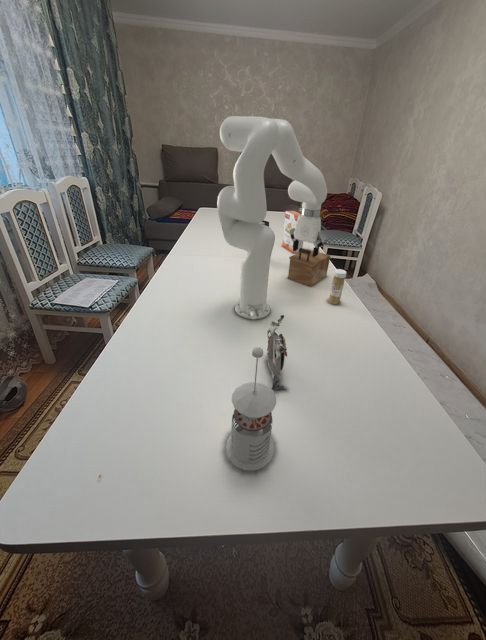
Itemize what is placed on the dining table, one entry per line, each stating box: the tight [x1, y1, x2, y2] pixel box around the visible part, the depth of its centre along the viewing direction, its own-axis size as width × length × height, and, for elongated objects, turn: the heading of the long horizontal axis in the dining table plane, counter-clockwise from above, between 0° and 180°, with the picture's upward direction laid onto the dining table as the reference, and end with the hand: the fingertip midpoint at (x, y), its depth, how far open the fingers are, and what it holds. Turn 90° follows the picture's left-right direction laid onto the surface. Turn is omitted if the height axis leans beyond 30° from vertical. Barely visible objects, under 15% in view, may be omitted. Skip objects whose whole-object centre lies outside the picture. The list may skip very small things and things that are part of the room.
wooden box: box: [287, 256, 331, 287], centre depth 135 cm, size 16×12×10 cm
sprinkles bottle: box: [328, 268, 348, 305], centre depth 114 cm, size 5×5×14 cm
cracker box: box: [281, 210, 304, 254], centre depth 167 cm, size 14×6×21 cm, turn 25°
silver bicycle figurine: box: [266, 314, 288, 391], centre depth 77 cm, size 15×4×13 cm, turn 6°
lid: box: [289, 247, 331, 266], centre depth 131 cm, size 16×12×5 cm
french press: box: [225, 347, 277, 471], centre depth 54 cm, size 10×12×25 cm
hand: (304, 253), depth 126 cm, fingers open, 9 cm apart
